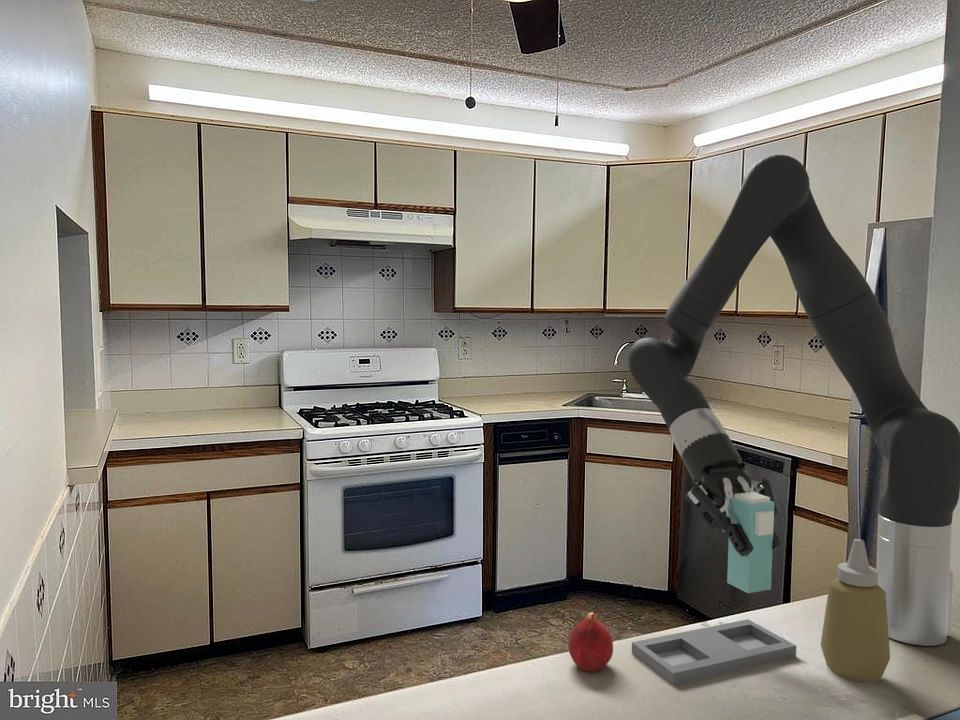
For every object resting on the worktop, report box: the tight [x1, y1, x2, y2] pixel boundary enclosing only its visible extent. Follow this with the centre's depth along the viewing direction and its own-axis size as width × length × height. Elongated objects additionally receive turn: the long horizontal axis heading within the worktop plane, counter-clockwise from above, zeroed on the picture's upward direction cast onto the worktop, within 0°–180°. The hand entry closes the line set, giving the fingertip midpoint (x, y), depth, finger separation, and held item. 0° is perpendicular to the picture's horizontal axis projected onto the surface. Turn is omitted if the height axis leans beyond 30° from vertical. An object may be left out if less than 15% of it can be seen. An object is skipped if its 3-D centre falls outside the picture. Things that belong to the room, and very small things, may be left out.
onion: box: [568, 611, 614, 673], centre depth 93 cm, size 6×6×8 cm
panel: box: [631, 618, 797, 686], centre depth 97 cm, size 20×9×2 cm, turn 112°
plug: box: [726, 492, 775, 594], centre depth 98 cm, size 4×5×13 cm
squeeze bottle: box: [820, 538, 891, 684], centre depth 92 cm, size 8×8×18 cm
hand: (761, 550), depth 96 cm, fingers closed on plug, 4 cm apart
